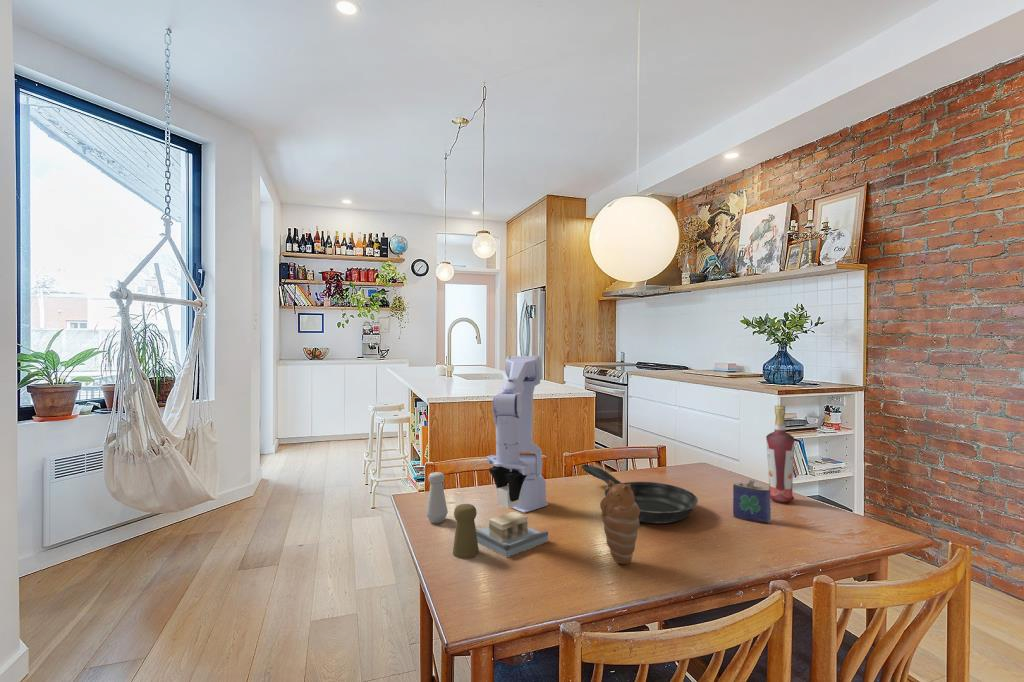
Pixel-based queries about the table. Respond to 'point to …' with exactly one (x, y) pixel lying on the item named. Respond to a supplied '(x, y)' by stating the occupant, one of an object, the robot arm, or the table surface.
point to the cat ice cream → (620, 521)
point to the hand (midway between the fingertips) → (508, 498)
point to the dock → (512, 541)
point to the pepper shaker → (465, 532)
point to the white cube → (506, 498)
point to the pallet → (508, 526)
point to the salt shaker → (436, 499)
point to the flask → (751, 502)
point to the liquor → (780, 460)
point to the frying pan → (653, 498)
